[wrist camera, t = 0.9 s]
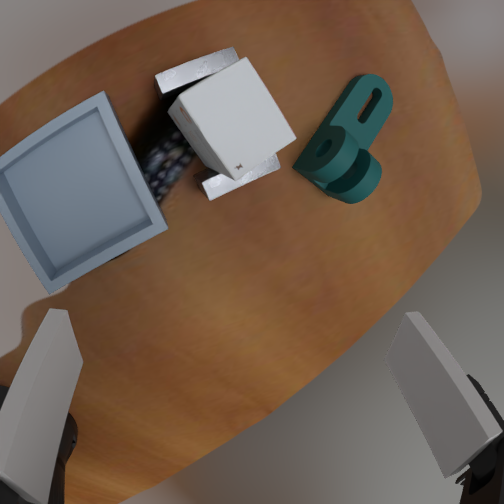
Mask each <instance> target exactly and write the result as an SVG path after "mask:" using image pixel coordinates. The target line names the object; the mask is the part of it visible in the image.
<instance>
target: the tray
mask: <svg viewBox="0 0 504 504" xmlns="http://www.w3.org/2000/svg"><path fill="white" fill-rule="evenodd" d="M0 213H1V215H2V217H3V218H4V220H5V222H6V224H7V226H8V228H9V230H10V231H11V233H12V235H13V237H14V239H15V240H16V242H17V244H18V246H19V247H20V249H21V251H22V253H23V254H24V256H25V257H26V259H27V261H28V262H29V264H30V266H31V267H32V269H33V270H34V272H35V273H36V275H37V277H38V278H39V280H40V281H41V283H42V284H43V286H44V287H45V289H46V290H47V292H48V293H49V294H51V293H53V292H54V291H56V290H58V289H60V288H61V287H63V286H65V285H66V284H68V283H70V282H72V281H73V280H75V279H77V278H78V277H80V276H82V275H84V274H85V273H87V272H89V271H91V270H93V269H94V268H96V267H98V266H100V265H102V264H103V263H105V262H107V261H109V260H111V259H112V258H114V257H116V256H118V255H120V254H122V253H123V252H125V251H127V250H129V249H131V248H133V247H135V246H136V245H138V244H140V243H142V242H144V241H146V240H148V239H150V238H152V237H153V236H155V235H157V234H159V233H161V232H163V231H165V230H167V229H168V225H167V221H166V218H165V216H164V214H163V212H162V210H161V208H160V206H159V204H158V202H157V200H156V198H155V196H154V194H153V192H152V190H151V188H150V186H149V183H148V181H147V179H146V177H145V175H144V173H143V171H142V169H141V167H140V165H139V163H138V160H137V158H136V156H135V154H134V152H133V150H132V148H131V145H130V143H129V141H128V139H127V137H126V134H125V132H124V130H123V128H122V125H121V123H120V121H119V119H118V116H117V114H116V112H115V110H114V107H113V105H112V103H111V100H110V98H109V96H108V95H107V94H106V93H105V92H104V91H102V92H100V93H98V94H96V95H95V96H93V97H91V98H89V99H87V100H85V101H84V102H82V103H80V104H78V105H77V106H75V107H73V108H72V109H70V110H68V111H67V112H65V113H63V114H62V115H60V116H58V117H57V118H55V119H54V120H52V121H50V122H49V123H47V124H46V125H44V126H43V127H41V128H40V129H38V130H37V131H35V132H34V133H32V134H31V135H29V136H28V137H27V138H25V139H24V140H22V141H21V142H20V143H18V144H17V145H15V146H14V147H13V148H11V149H10V150H9V151H7V152H6V153H5V154H4V155H2V156H1V157H0Z"/></svg>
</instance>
